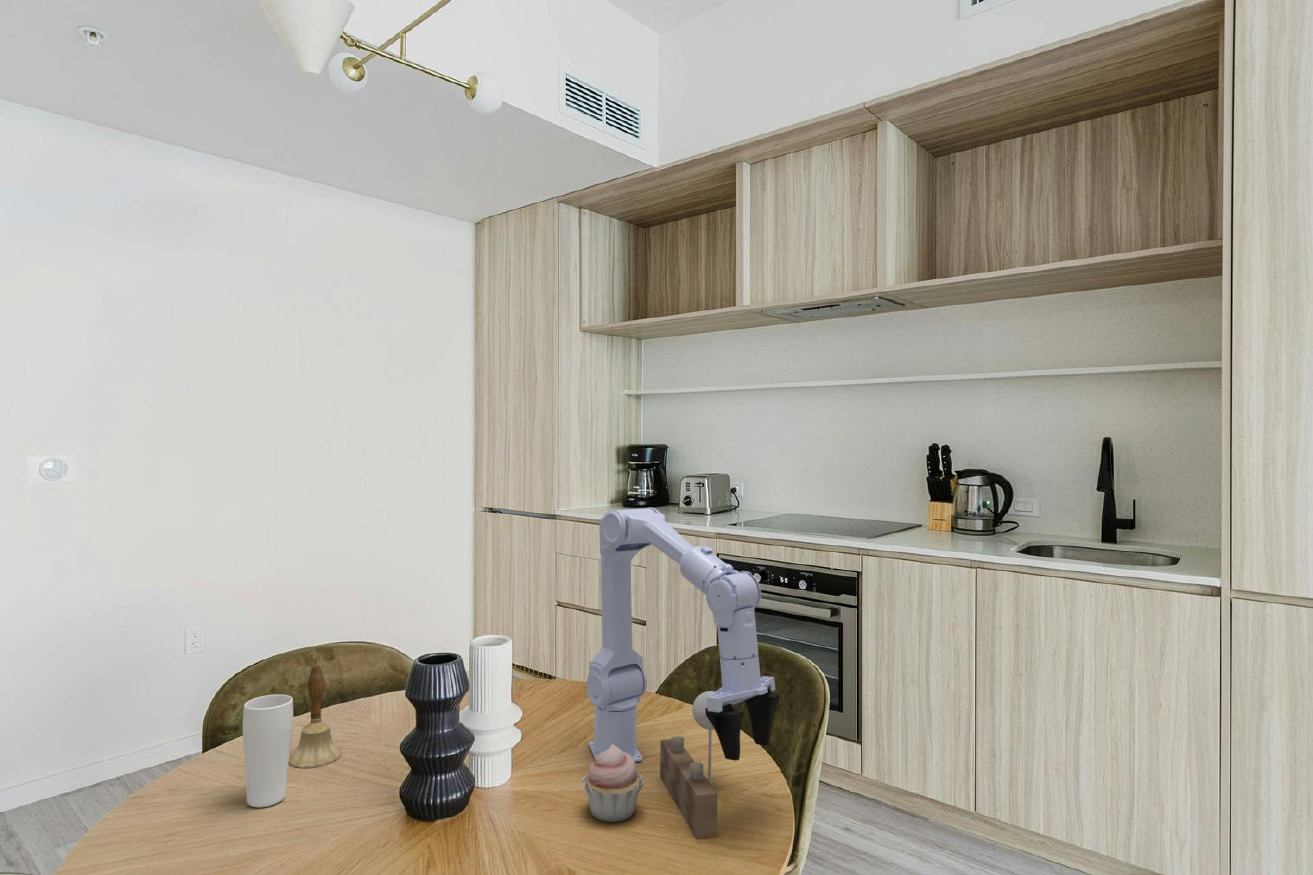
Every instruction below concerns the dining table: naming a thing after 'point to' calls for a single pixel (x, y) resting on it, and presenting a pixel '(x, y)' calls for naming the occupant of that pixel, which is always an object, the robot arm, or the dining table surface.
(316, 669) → the hand bell
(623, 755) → the cupcake
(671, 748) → the bar
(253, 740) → the drinking glass
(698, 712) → the lollipop
